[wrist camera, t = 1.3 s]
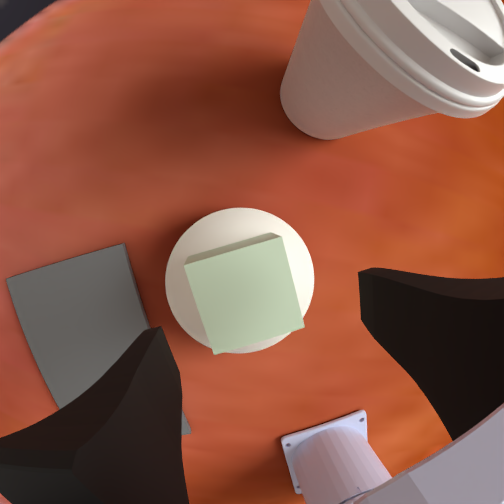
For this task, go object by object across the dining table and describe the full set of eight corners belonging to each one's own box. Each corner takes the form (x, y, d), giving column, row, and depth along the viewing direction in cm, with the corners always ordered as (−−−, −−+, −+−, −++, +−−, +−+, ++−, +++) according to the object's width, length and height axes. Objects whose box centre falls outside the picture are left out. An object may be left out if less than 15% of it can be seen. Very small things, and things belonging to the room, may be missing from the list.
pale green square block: (290, 310, 19) (304, 327, 16) (213, 333, 19) (214, 354, 16) (270, 232, 18) (281, 236, 16) (188, 256, 18) (183, 265, 15)
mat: (191, 429, 23) (190, 433, 22) (82, 440, 22) (80, 443, 21) (124, 242, 20) (122, 243, 20) (9, 277, 19) (5, 279, 19)
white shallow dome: (311, 316, 23) (324, 331, 20) (191, 347, 22) (189, 366, 19) (286, 194, 21) (297, 192, 18) (156, 226, 20) (147, 229, 18)
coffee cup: (232, 111, 20) (271, -43, 5) (299, 25, 20) (379, -107, 5) (344, 186, 22) (516, 166, 7) (395, 95, 21) (534, 27, 7)
